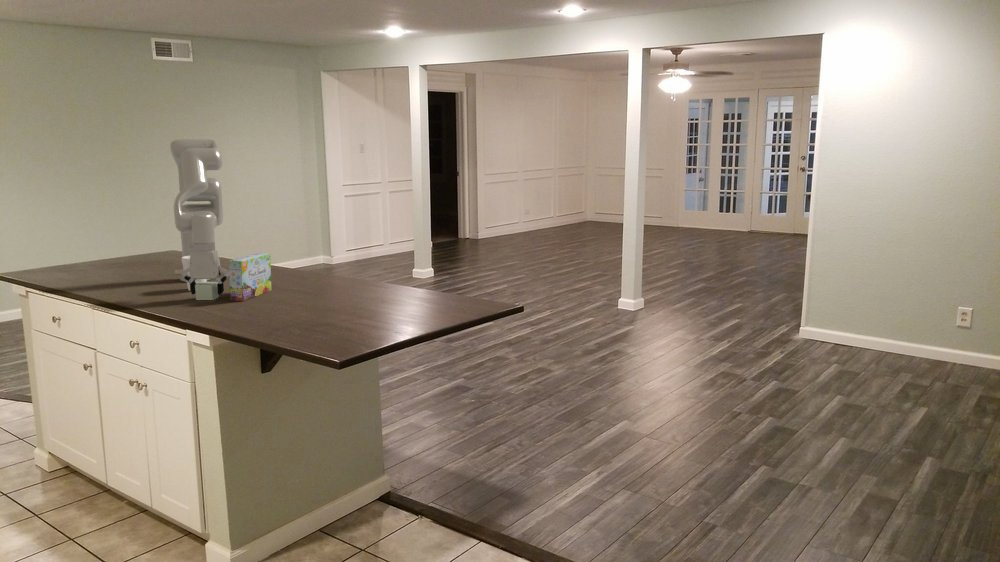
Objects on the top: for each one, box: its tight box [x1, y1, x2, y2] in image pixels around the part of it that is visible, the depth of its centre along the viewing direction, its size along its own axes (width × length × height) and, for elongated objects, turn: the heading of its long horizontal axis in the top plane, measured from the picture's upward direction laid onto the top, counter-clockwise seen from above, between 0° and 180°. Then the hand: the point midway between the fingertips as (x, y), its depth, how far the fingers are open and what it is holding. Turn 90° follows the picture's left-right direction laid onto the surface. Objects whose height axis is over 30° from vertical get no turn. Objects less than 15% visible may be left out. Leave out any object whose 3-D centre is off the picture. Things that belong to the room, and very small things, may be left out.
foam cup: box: [181, 256, 208, 292], centre depth 290 cm, size 10×9×13 cm
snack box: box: [228, 252, 272, 302], centre depth 279 cm, size 21×6×15 cm, turn 168°
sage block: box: [195, 281, 220, 301], centre depth 273 cm, size 6×6×6 cm
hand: (207, 293), depth 273 cm, fingers open, 9 cm apart
